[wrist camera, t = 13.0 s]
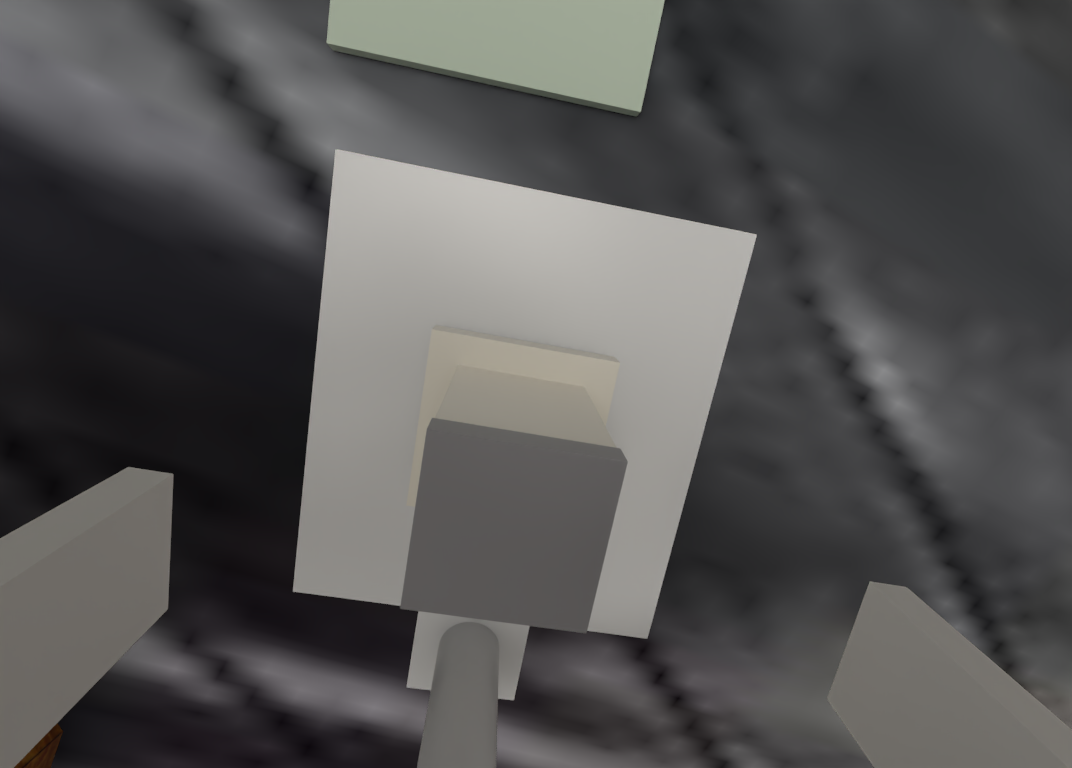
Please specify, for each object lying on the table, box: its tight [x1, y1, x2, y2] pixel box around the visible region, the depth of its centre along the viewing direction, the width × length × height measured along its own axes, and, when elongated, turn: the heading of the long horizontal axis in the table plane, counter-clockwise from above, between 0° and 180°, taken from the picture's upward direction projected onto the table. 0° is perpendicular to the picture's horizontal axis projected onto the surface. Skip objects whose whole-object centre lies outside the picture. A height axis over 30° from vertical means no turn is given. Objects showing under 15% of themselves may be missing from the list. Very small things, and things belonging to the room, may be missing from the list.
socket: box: [293, 149, 757, 768], centre depth 18 cm, size 14×20×14 cm
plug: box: [400, 325, 628, 633], centre depth 18 cm, size 6×6×13 cm
